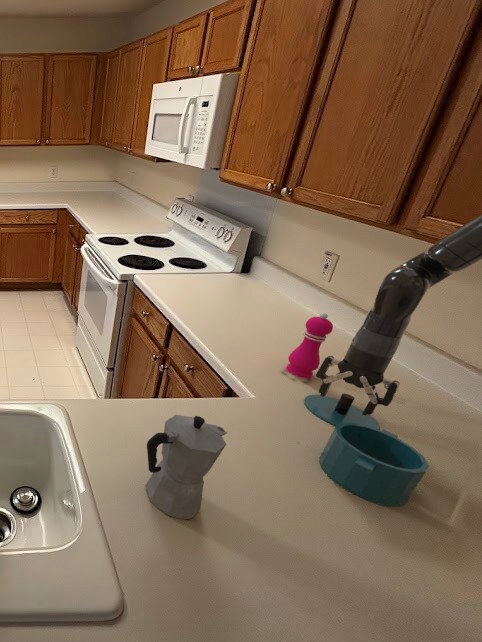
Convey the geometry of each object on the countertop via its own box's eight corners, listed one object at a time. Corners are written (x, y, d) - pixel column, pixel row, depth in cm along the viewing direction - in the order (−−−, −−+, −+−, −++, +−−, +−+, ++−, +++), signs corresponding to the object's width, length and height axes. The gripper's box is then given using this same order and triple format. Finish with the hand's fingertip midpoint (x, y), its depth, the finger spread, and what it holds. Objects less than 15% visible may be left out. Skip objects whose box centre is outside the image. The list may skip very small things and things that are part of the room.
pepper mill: (318, 378, 120) (347, 317, 113) (302, 382, 118) (331, 319, 110) (293, 366, 127) (318, 306, 119) (277, 369, 124) (303, 308, 116)
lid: (384, 423, 102) (395, 403, 100) (367, 444, 94) (378, 422, 92) (314, 392, 113) (323, 374, 111) (293, 408, 105) (302, 388, 103)
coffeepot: (183, 473, 80) (210, 397, 74) (221, 514, 72) (255, 432, 65) (114, 484, 76) (137, 405, 70) (146, 529, 68) (174, 444, 61)
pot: (417, 482, 84) (438, 450, 80) (392, 525, 73) (415, 489, 70) (335, 441, 94) (351, 411, 90) (304, 473, 83) (320, 440, 80)
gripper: (417, 358, 93) (384, 416, 99) (340, 332, 104) (315, 385, 110) (409, 366, 89) (375, 426, 95) (330, 338, 99) (304, 393, 106)
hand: (343, 404), depth 102 cm, fingers open, 8 cm apart
